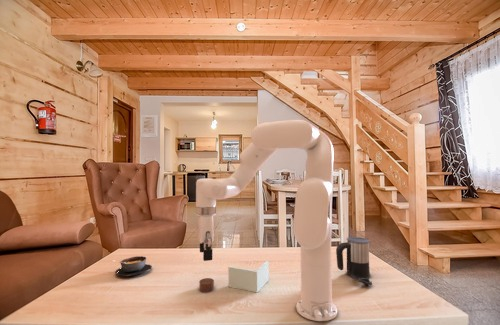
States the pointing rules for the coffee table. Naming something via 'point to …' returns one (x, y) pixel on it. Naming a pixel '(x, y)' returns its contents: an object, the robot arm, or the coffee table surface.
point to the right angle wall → (248, 277)
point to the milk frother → (355, 258)
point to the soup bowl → (133, 266)
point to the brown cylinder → (206, 285)
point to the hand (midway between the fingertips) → (205, 255)
